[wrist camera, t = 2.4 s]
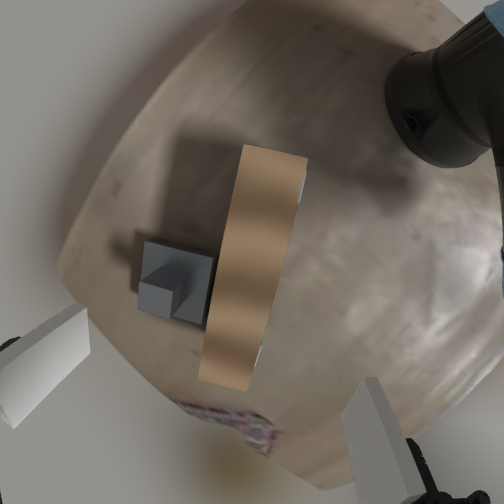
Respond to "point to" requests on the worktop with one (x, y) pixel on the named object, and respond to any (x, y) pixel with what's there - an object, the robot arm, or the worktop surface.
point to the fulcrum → (175, 280)
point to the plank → (250, 263)
